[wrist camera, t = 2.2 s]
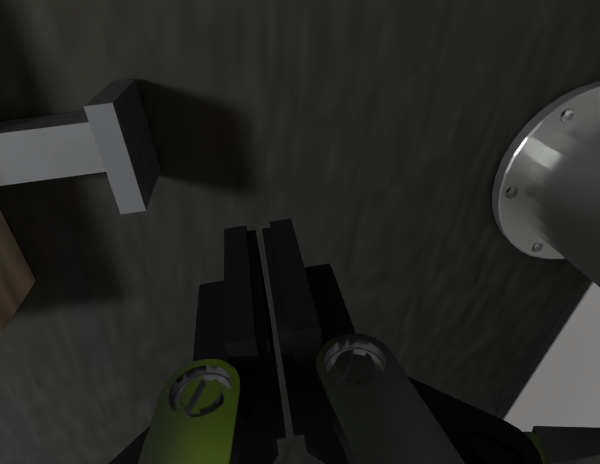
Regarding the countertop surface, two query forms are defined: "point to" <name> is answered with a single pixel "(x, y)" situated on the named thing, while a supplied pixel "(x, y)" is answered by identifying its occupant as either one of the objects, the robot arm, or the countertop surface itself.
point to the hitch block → (11, 275)
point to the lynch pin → (87, 146)
